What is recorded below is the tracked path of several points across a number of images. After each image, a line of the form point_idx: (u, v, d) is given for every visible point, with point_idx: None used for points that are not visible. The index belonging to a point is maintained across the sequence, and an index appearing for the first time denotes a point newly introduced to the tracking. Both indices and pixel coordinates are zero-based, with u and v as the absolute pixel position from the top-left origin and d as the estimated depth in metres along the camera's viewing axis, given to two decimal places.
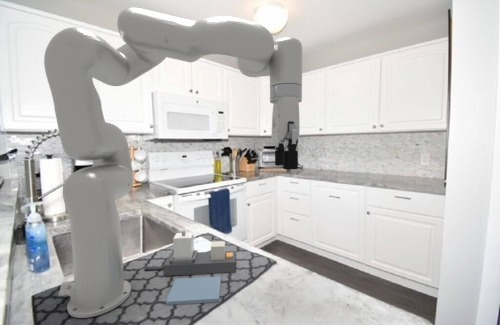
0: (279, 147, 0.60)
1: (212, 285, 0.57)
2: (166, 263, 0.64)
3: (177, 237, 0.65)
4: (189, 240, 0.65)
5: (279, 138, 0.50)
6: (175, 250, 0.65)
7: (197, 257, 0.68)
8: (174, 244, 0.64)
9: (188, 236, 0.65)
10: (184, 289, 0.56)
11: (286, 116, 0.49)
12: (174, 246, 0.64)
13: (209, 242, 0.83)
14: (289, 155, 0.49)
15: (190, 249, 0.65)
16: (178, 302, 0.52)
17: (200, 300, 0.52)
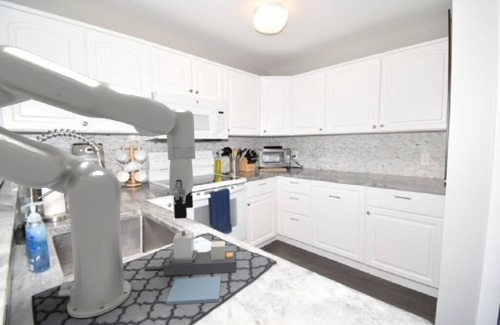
0: None
1: (212, 285, 0.57)
2: (166, 263, 0.64)
3: (177, 237, 0.65)
4: (189, 240, 0.65)
5: (170, 193, 0.61)
6: (175, 250, 0.65)
7: (197, 257, 0.68)
8: (174, 244, 0.64)
9: (188, 236, 0.65)
10: (184, 289, 0.56)
11: (174, 175, 0.60)
12: (174, 246, 0.64)
13: (209, 242, 0.83)
14: (177, 208, 0.60)
15: (190, 249, 0.65)
16: (178, 302, 0.52)
17: (200, 300, 0.52)
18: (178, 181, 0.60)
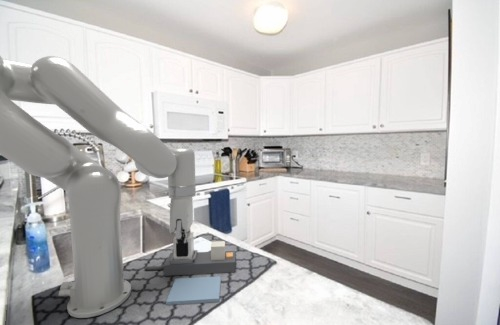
0: None
1: (212, 285, 0.57)
2: (166, 263, 0.64)
3: None
4: (189, 240, 0.65)
5: (170, 232, 0.61)
6: (175, 250, 0.65)
7: (197, 257, 0.68)
8: (174, 244, 0.64)
9: (188, 236, 0.65)
10: (184, 289, 0.56)
11: (175, 215, 0.61)
12: (174, 246, 0.65)
13: (209, 242, 0.83)
14: (179, 247, 0.63)
15: (190, 249, 0.65)
16: (178, 302, 0.52)
17: (200, 300, 0.52)
18: (179, 223, 0.61)
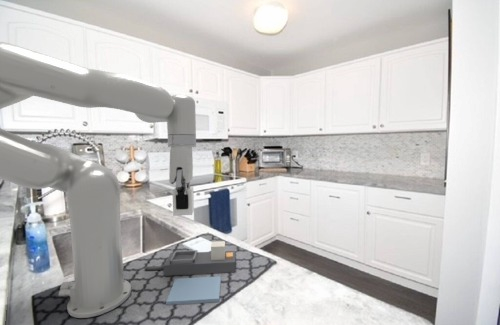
0: None
1: (212, 285, 0.57)
2: (166, 263, 0.64)
3: None
4: (189, 192, 0.62)
5: (170, 181, 0.59)
6: (174, 203, 0.62)
7: (197, 257, 0.68)
8: (173, 196, 0.62)
9: (188, 189, 0.63)
10: (184, 289, 0.56)
11: (175, 163, 0.58)
12: (173, 198, 0.62)
13: (210, 242, 0.83)
14: (179, 198, 0.61)
15: (190, 202, 0.62)
16: (178, 302, 0.52)
17: (200, 300, 0.52)
18: (179, 171, 0.59)
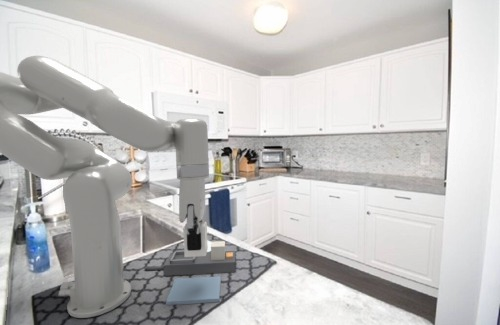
0: None
1: (212, 285, 0.57)
2: (166, 263, 0.64)
3: None
4: (202, 230, 0.54)
5: (180, 220, 0.50)
6: (186, 242, 0.54)
7: (197, 257, 0.68)
8: (184, 235, 0.53)
9: (201, 226, 0.54)
10: (184, 289, 0.56)
11: (185, 199, 0.50)
12: (184, 238, 0.53)
13: (210, 242, 0.83)
14: (191, 238, 0.52)
15: (204, 241, 0.54)
16: (178, 302, 0.52)
17: (200, 300, 0.52)
18: (190, 209, 0.50)
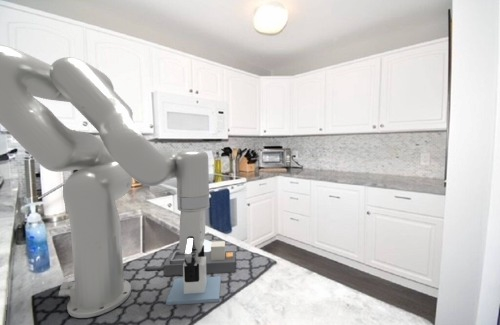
0: None
1: (212, 285, 0.57)
2: (166, 263, 0.64)
3: None
4: (202, 267, 0.54)
5: (180, 252, 0.51)
6: None
7: None
8: None
9: (201, 263, 0.55)
10: None
11: (186, 231, 0.50)
12: None
13: (210, 242, 0.82)
14: (188, 270, 0.50)
15: (203, 278, 0.55)
16: (178, 302, 0.52)
17: (200, 300, 0.52)
18: (190, 238, 0.50)
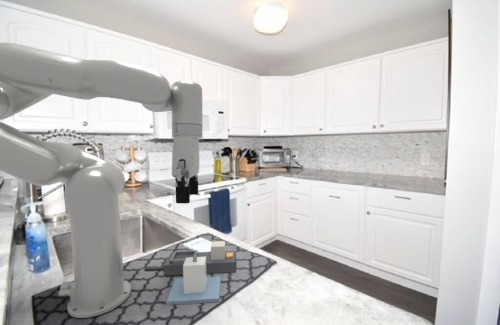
0: (190, 177, 0.64)
1: (212, 285, 0.57)
2: (166, 263, 0.64)
3: (188, 264, 0.54)
4: (202, 267, 0.54)
5: (172, 174, 0.54)
6: (185, 279, 0.54)
7: None
8: (184, 272, 0.54)
9: (201, 263, 0.55)
10: None
11: (178, 154, 0.53)
12: (184, 275, 0.54)
13: (210, 242, 0.82)
14: (179, 191, 0.53)
15: (203, 278, 0.55)
16: (178, 302, 0.52)
17: (200, 300, 0.52)
18: (181, 161, 0.53)
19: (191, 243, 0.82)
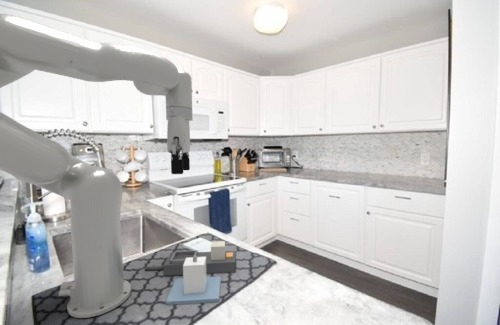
0: (182, 155, 0.73)
1: (212, 285, 0.57)
2: (166, 263, 0.64)
3: (188, 264, 0.54)
4: (202, 267, 0.54)
5: (167, 149, 0.64)
6: (185, 279, 0.54)
7: None
8: (184, 272, 0.54)
9: (201, 263, 0.55)
10: None
11: (172, 132, 0.63)
12: (184, 275, 0.54)
13: (210, 242, 0.82)
14: (174, 163, 0.63)
15: (203, 278, 0.55)
16: (178, 302, 0.52)
17: (200, 300, 0.52)
18: (175, 138, 0.63)
19: (191, 243, 0.82)
